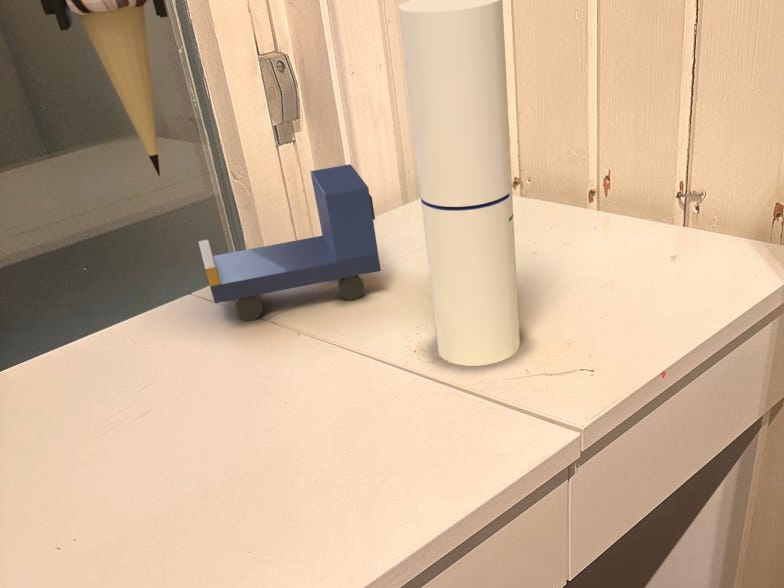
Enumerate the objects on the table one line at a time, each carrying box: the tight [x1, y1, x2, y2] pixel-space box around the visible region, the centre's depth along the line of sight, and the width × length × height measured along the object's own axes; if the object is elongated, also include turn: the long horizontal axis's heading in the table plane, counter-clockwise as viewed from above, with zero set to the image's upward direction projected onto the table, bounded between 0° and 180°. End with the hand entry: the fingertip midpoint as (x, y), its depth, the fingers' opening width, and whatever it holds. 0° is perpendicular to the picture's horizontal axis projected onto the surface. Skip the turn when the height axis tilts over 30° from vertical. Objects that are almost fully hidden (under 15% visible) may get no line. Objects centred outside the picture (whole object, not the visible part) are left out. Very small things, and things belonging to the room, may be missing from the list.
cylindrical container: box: [398, 0, 521, 367], centre depth 71 cm, size 7×7×25 cm
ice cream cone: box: [64, 0, 161, 177], centre depth 63 cm, size 6×6×15 cm
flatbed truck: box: [198, 163, 382, 321], centre depth 88 cm, size 16×8×10 cm, turn 108°
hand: (114, 17), depth 61 cm, fingers closed on ice cream cone, 5 cm apart
